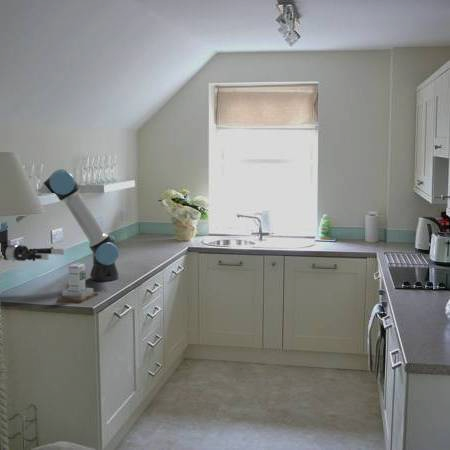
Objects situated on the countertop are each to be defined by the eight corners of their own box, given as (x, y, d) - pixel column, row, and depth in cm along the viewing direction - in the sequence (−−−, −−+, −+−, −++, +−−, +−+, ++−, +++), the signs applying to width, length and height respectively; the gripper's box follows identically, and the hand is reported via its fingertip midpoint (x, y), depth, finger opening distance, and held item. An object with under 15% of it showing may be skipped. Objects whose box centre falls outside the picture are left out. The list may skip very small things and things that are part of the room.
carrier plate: (75, 293, 310) (75, 290, 310) (97, 295, 306) (97, 292, 306) (57, 300, 295) (57, 297, 295) (80, 302, 291) (80, 299, 291)
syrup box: (80, 296, 297) (79, 266, 295) (69, 295, 299) (68, 265, 297) (86, 294, 302) (85, 263, 300) (75, 293, 304) (74, 263, 302)
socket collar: (74, 291, 307) (73, 286, 307) (93, 293, 304) (93, 288, 303) (62, 296, 297) (62, 291, 297) (81, 298, 294) (81, 292, 294)
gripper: (32, 256, 326) (69, 257, 319) (2, 265, 302) (41, 266, 296) (31, 241, 325) (68, 242, 318) (1, 249, 301) (40, 250, 295)
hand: (55, 254), depth 307 cm, fingers open, 13 cm apart
